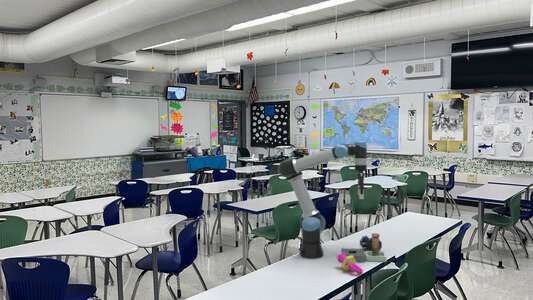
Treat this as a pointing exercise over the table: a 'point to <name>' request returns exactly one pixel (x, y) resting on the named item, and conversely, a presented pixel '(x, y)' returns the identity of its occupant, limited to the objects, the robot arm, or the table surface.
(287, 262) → the table surface
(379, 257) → the tray
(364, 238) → the toy
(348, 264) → the toy
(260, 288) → the table surface
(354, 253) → the hitch block
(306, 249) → the robot arm
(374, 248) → the pin
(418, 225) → the table surface
